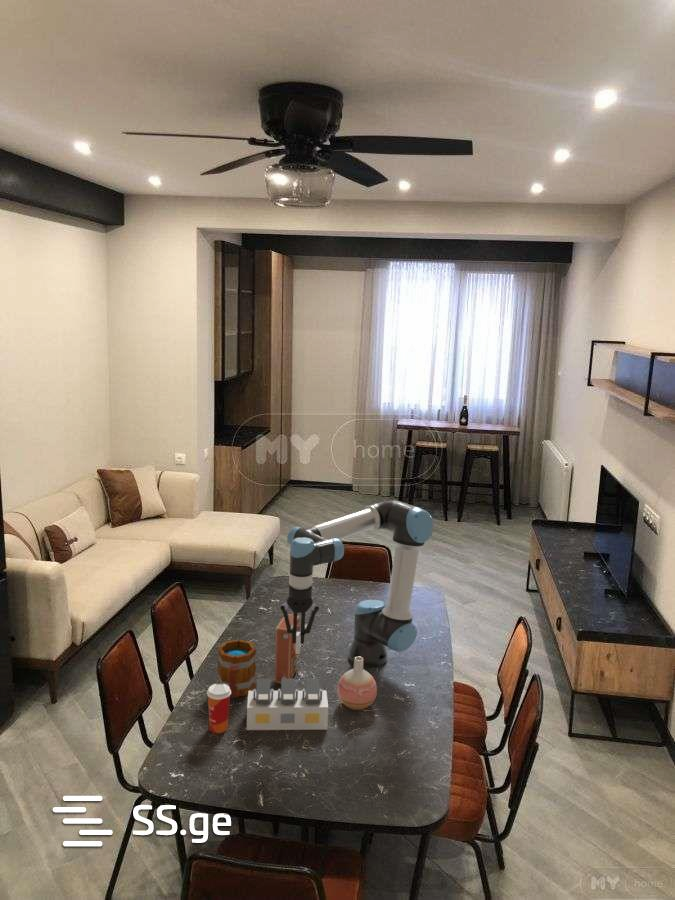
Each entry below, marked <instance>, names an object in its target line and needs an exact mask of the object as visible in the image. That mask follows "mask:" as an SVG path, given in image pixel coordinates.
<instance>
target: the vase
mask: <svg viewBox="0 0 675 900" xmlns="http://www.w3.org/2000/svg"><path fill="white" fill-rule="evenodd" d="M377 694H378V687H377V682H376V680H375V678H374V677H373V675H372V674H370V672H368V671H367V670H366V669H364V667H363V658H362V657H359V656H358V657H355V659H354V663H353V668H351V669H349V670H348V671H345V673H343V675H341V677H340V679H339V680H338V683H337V696H338V698H339V701H341V703H342V704H343V705H344V706H346V707H347V708H348V709H350V710H353V711H362V710H364V709H366V708H368V707H370V706H371V705H372V704H373V703H374V702H375V700H376V698H377Z"/></svg>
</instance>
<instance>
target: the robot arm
mask: <svg viewBox="0 0 675 900" xmlns="http://www.w3.org/2000/svg"><path fill="white" fill-rule="evenodd" d="M433 519H434V518H433V517H432V516H431V514H430V512H428V511H427V510H425V509H423V508H421V507H418V506H415V505H411V504H409V503H405V502H403V501H401V500H395V499H393V500H385V501H379V502H376V503H371V504H369V505H366V506H365V507H364V508H363V509H362V510H358V511H356V512H352V513H349V514H347V515H344V516H340V517H338V518H334V519H331V520H329V521H325V522H322V523H319V524H316V525H313V526H310V527H305V528H304V527H302V526H301V527H300V526H294V527H292V528H291V529H290V530H289V532H288V533H287V537H286V540H287V543H288V545H289V546H290V549H289V550H290V551H289V572H288V573H289V576H288V577H289V579H288V584H289V585H288V598H287V599H286V602H285V601H284V603H283V602H281V603H280V605H279V606H280V611H282V613H283V618H285V623H286V627H287V632H288V633H292V634H293V640H292V642H293V643H296V654H298V655H300V654H301V644H304V643H305V635H306V634H310V633H311V630H312V626H313V623H314V621H315V617H316V614H317V613H318V611H319V609H320V606H319V604H318V603H315V602H314V601H313V598H312V596H313V595H312V594H313V587H312V585H313V575H314V574H313V573H314V567H316V566H318V565H320V566H321V565H323V564H329V563H334V562H337V561H339V560H341V559H342V558H343V557H344V554H345V547H344V544H343V542H342V540H343V539H345V538H348V537H351V536H355V535H357V534H360V533H361V534H362V533H363V532H367V531H369V530H371V531H373V532H374V531H378V530H387V531H389V532H393V534H392V542H393V543H394V544H395V549H394V557H393V562H392V569H391V577H390V583H389V589H388V595H387V603H386V602H384V601H383V600H378V599H366V600H365V599H364V600H362V601H360V602H358V603H356V606H355V612H354V624H353V625H354V627H353V629H354V630H353V632H354V633H353V639H352V642H351V645H350V647H349V649H348V657H347V658H348V659H349V661H351V662H352V664H354V659H355V657H358V656H359V657H362V658H363V668H375V667H380V666H383V665H384V664H385V663H387V661H388V652H387V651H388V650H387V648H388V649H389V650H392V651H394V652H397V653H402V652H405V651H407V650H408V649H409V648H411V646H412V645H413V644H414V642H415V641H416V638H417V635H418V629H417V627H416V626H415V624H414V623H413V620H414V619H413V618H414V615H413V613H412V611H411V604H412V598H413V592H414V585H415V584H414V583H415V578H416V572H417V571H416V570H417V565H418V559H419V552H420V551H419V550H420V549H421V548H423V547H424V546H425V543H426V542H427V541H429V540H430V537H432V535H433V532H434V527H435V526H434V520H433ZM289 608H290V609H291V611H292V612H293V615H294V616H293V628H291V625H290V620H289V616H288V614H289V612H288V609H289ZM310 608H311V612H310V614H309V615H310V616H309V618H308V622H307V625H305V624H306V613H307V612H308V610H309V609H310ZM299 613H300V616H301V617H300V632H297V615H298V614H299ZM305 626H306V627H305Z"/></svg>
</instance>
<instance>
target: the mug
mask: <svg viewBox="0 0 675 900" xmlns="http://www.w3.org/2000/svg"><path fill="white" fill-rule="evenodd" d="M217 653H218V659H217V661H218V662H217V673H218V674H217V675H218V677H217V678H218V680H217V684H226V685H228V686H229V687H230V690H231V695H230V698H237V697H243V696H248V691H254V689H256V682H255V680H256V677H255V676H256V669H257V665H256V653H257V648H256V647H255V645H254V644H253V642H252V641H248V640H243V639H240V638H238V639H232V640H225V641H224V642H223V643H221V644H220V645H219V646H218V647H217Z"/></svg>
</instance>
